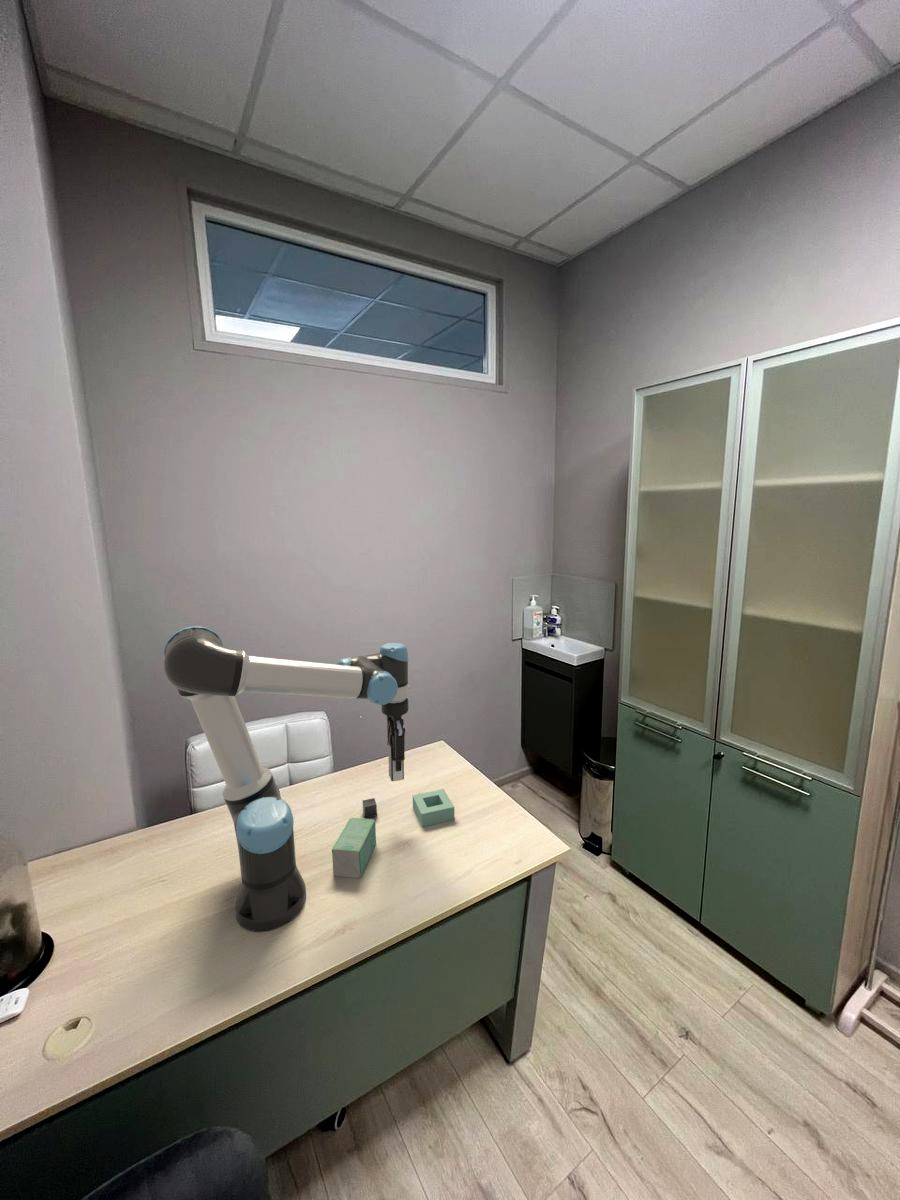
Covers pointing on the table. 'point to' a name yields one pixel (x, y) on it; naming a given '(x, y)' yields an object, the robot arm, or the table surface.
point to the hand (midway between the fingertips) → (396, 776)
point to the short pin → (369, 808)
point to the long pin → (390, 752)
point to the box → (354, 848)
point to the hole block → (433, 807)
